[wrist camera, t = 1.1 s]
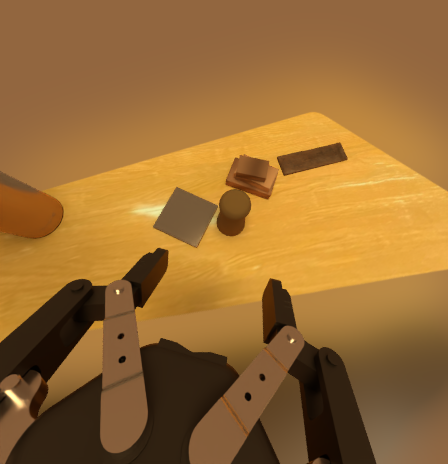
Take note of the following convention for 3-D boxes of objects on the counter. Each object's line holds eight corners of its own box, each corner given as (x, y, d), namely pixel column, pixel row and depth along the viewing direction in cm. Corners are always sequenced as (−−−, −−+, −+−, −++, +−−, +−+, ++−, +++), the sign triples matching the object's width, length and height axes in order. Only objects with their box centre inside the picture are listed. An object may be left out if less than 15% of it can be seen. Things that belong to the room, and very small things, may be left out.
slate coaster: (153, 227, 38) (152, 226, 37) (177, 188, 40) (176, 187, 39) (196, 247, 37) (196, 247, 36) (217, 206, 39) (217, 205, 39)
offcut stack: (225, 184, 41) (227, 170, 35) (234, 162, 42) (237, 146, 37) (267, 199, 40) (275, 187, 35) (275, 176, 42) (283, 162, 36)
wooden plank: (285, 174, 41) (277, 155, 42) (283, 176, 42) (275, 158, 43) (348, 158, 43) (340, 141, 44) (344, 162, 44) (336, 144, 45)
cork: (211, 219, 39) (208, 196, 28) (233, 203, 40) (239, 176, 29) (228, 241, 37) (232, 227, 27) (250, 225, 39) (263, 204, 28)
